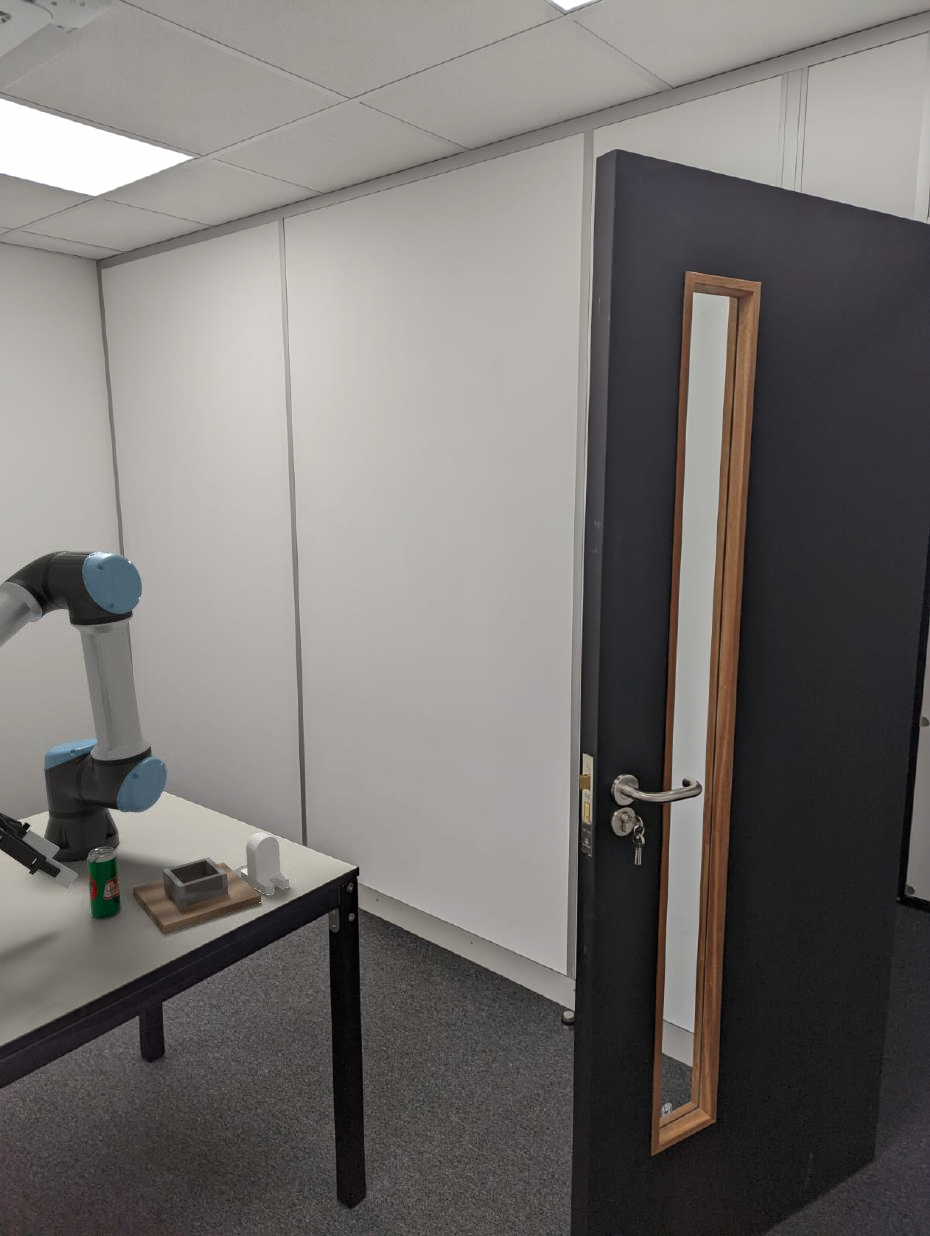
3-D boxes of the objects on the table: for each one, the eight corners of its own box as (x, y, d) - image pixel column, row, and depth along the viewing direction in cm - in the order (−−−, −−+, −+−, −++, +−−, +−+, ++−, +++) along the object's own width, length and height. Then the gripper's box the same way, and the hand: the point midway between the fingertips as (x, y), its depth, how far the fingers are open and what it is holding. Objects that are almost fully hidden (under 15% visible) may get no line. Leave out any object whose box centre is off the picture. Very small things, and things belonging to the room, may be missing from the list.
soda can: (110, 921, 155) (105, 858, 154) (85, 918, 156) (80, 856, 155) (126, 907, 160) (122, 846, 158) (102, 905, 161) (97, 844, 159)
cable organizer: (263, 871, 175) (261, 824, 173) (290, 887, 168) (288, 838, 166) (240, 879, 171) (237, 832, 170) (266, 896, 164) (264, 846, 163)
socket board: (133, 895, 165) (131, 868, 164) (223, 869, 176) (222, 843, 175) (164, 933, 151) (162, 904, 150) (261, 902, 162) (259, 875, 161)
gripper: (-70, 802, 150) (33, 861, 161) (-51, 850, 130) (64, 913, 141) (-38, 766, 152) (61, 827, 163) (-14, 808, 132) (96, 873, 143)
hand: (63, 867), depth 152 cm, fingers open, 13 cm apart
